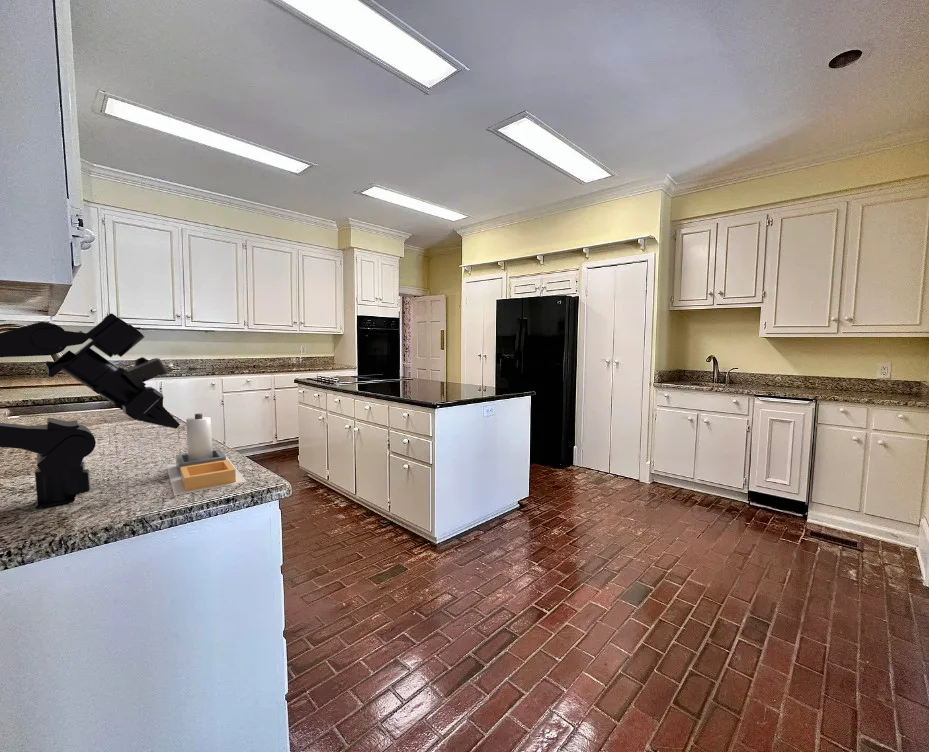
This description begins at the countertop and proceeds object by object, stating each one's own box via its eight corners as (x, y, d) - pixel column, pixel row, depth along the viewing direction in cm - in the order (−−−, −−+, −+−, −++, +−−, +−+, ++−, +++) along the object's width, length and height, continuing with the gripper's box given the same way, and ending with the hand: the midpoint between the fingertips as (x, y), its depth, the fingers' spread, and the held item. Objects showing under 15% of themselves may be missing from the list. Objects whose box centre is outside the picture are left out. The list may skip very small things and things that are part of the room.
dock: (174, 500, 76) (173, 482, 75) (166, 470, 93) (165, 455, 92) (247, 486, 83) (246, 469, 83) (227, 460, 100) (226, 446, 100)
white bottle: (189, 471, 89) (187, 416, 88) (187, 466, 92) (184, 413, 91) (214, 467, 92) (212, 414, 91) (211, 462, 95) (209, 411, 94)
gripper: (145, 345, 76) (215, 398, 85) (127, 344, 88) (190, 390, 98) (90, 391, 71) (171, 443, 80) (80, 383, 83) (151, 428, 93)
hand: (172, 423), depth 88 cm, fingers open, 9 cm apart
